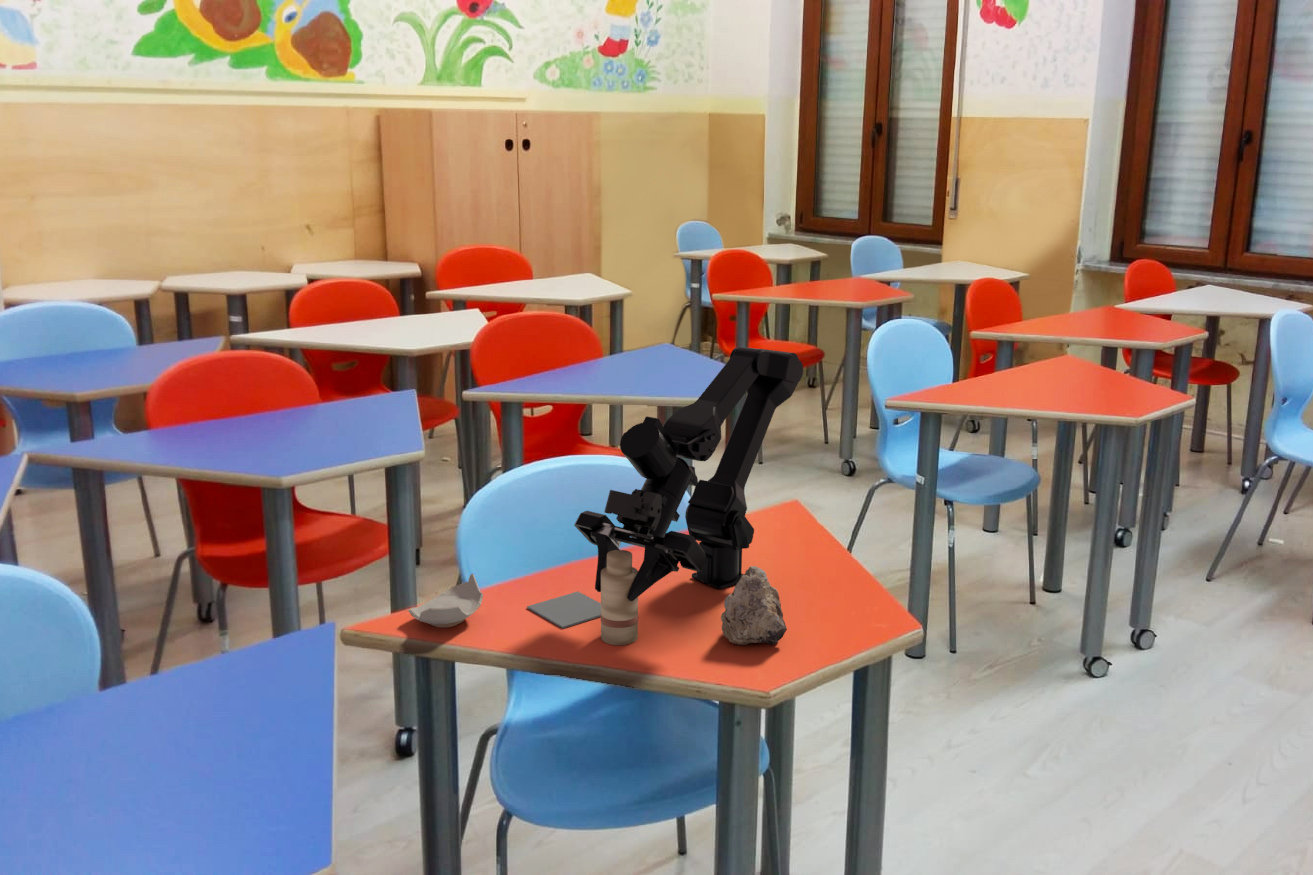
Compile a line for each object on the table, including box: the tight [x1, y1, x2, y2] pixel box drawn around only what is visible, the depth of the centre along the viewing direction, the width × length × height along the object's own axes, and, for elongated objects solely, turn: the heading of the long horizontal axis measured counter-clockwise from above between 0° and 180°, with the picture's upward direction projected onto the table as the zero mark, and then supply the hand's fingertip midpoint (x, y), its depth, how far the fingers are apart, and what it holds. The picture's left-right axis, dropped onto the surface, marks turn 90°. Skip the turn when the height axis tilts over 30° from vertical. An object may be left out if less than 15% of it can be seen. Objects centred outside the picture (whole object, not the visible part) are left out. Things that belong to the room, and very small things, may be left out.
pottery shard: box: [407, 573, 484, 628], centre depth 155 cm, size 10×11×5 cm
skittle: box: [600, 549, 639, 646], centre depth 150 cm, size 5×5×12 cm
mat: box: [526, 591, 601, 630], centre depth 160 cm, size 9×9×1 cm
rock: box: [720, 565, 788, 646], centre depth 151 cm, size 8×11×9 cm
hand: (613, 595), depth 149 cm, fingers closed on skittle, 5 cm apart
